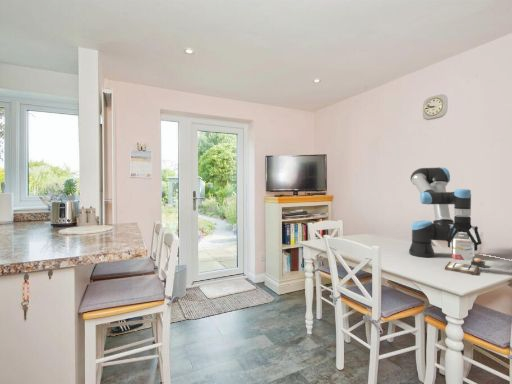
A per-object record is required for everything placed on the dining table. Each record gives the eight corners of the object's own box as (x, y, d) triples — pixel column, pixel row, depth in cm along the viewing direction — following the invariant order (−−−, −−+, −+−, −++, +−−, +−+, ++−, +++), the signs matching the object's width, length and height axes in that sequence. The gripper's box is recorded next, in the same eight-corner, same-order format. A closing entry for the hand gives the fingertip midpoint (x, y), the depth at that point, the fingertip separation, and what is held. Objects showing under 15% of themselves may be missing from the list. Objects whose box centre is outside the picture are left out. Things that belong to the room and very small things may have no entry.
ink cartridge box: (455, 259, 153) (455, 234, 152) (451, 257, 158) (451, 232, 157) (473, 260, 150) (473, 234, 150) (469, 258, 155) (469, 233, 154)
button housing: (471, 265, 160) (471, 261, 160) (472, 263, 164) (472, 259, 164) (484, 267, 156) (484, 263, 156) (485, 265, 160) (485, 261, 160)
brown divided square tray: (444, 269, 154) (444, 266, 154) (449, 263, 164) (449, 261, 164) (476, 275, 144) (476, 272, 144) (479, 268, 155) (479, 265, 154)
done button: (473, 262, 160) (473, 258, 160) (474, 260, 162) (474, 257, 162) (481, 263, 157) (481, 260, 157) (482, 262, 160) (482, 258, 160)
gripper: (438, 215, 158) (437, 252, 159) (487, 218, 143) (486, 259, 143) (440, 214, 164) (440, 250, 164) (488, 216, 148) (488, 256, 149)
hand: (462, 254), depth 154 cm, fingers closed on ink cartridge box, 10 cm apart
